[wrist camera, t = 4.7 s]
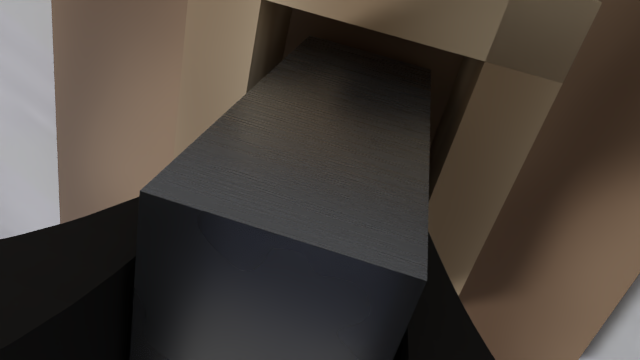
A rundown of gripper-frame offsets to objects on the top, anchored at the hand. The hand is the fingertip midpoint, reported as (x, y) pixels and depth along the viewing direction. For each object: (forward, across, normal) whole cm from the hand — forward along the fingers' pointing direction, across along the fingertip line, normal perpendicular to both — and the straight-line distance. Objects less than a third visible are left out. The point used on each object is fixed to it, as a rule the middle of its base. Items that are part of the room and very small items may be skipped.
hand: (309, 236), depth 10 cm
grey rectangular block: (+4, 0, 0) cm, 4 cm away
